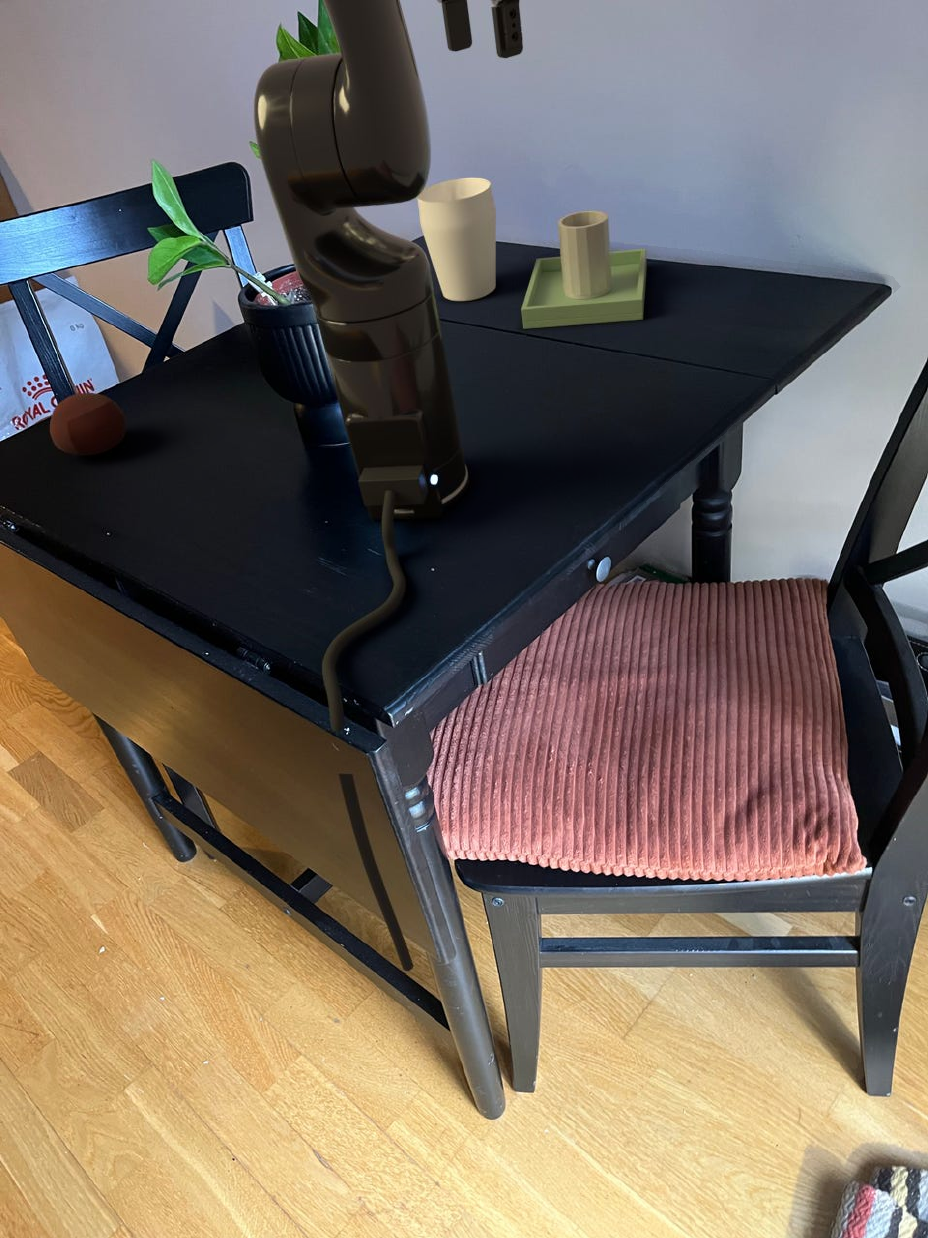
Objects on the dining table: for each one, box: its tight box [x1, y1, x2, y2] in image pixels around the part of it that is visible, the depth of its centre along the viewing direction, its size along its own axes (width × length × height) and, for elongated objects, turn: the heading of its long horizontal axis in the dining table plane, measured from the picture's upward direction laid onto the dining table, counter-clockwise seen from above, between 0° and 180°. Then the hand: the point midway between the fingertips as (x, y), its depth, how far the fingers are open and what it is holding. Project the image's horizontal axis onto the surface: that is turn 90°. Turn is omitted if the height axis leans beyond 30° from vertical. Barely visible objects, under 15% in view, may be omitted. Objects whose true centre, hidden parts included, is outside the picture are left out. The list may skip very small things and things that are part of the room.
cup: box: [416, 177, 497, 302], centre depth 110 cm, size 9×9×12 cm
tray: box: [520, 248, 648, 330], centre depth 106 cm, size 15×13×2 cm
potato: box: [49, 392, 127, 457], centre depth 95 cm, size 7×8×6 cm
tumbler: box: [557, 210, 612, 300], centre depth 104 cm, size 6×6×8 cm
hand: (484, 52), depth 80 cm, fingers open, 8 cm apart
